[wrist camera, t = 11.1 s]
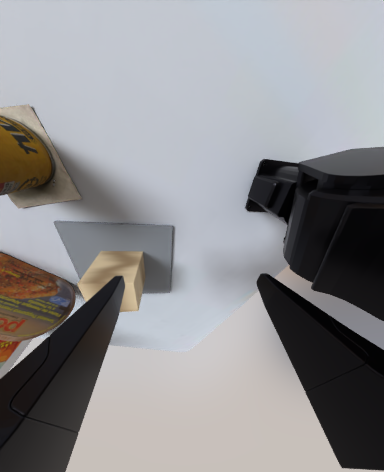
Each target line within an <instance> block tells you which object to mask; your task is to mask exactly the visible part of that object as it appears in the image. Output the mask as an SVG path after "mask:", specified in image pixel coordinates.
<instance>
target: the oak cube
mask: <svg viewBox="0 0 384 472" xmlns="http://www.w3.org/2000/svg"><path fill="white" fill-rule="evenodd" d="M114 276H123V277H124V282H125V290H124V295H123V299H122V304H121V308H120V312H128V311H138V310H139V305H140V301H141V296H142V291H143V287H144V282H145V269H144V258H143V251H101V252H100V253H99V254H98V256H97V257H96V259H95V260H94V261H93V263H92V264H91V266H90V267H89V268H88V270H87V271H86V272H85V274H84V275H83V277H82V278H81V279H80V281H79V282H78V284H77V285H78V287H79V289H80V291H81V293H82V295H83V297H84V299H85V301H86V302H87V301H88V300H89V299H90V298H91V297H92V296H94V295H95V294H96V293H97V292H98V291H99V290H100V289H101V288H102V287H103V286H104V285H106V284H107V283H108V282H109V281H110V280H111V279H112V278H113V277H114Z"/></svg>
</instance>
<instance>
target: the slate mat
mask: <svg viewBox="0 0 384 472" xmlns="http://www.w3.org/2000/svg"><path fill="white" fill-rule="evenodd" d="M54 224H55V227H56V229H57V231H58V233H59V235H60V237H61V240H62V242H63V244H64V246H65V248H66V250H67V252H68V255H69V257H70V259H71V261H72V263H73V265H74V268H75V270H76V272H77V274H78V276H79V278H80V279H81V278H82V277H83V275H84V274H85V272H86V271H87V270H88V268H89V267H90V266H91V264H92V263H93V261H94V260H95V259H96V257H97V256H98V254H99V253H100V252H101V251H143V258H144V269H145V282H144V287H143V291H142V294H144V293H170V278H171V254H172V230H173V226H166V225H142V224H119V223H96V222H73V221H55V222H54Z"/></svg>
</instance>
